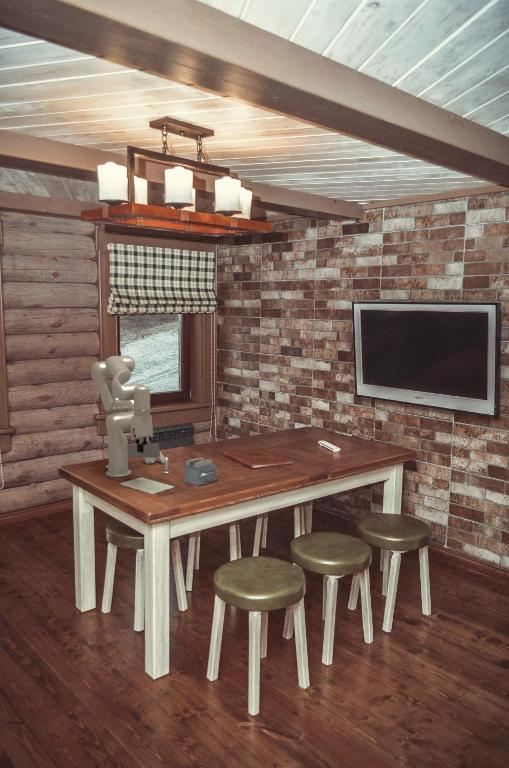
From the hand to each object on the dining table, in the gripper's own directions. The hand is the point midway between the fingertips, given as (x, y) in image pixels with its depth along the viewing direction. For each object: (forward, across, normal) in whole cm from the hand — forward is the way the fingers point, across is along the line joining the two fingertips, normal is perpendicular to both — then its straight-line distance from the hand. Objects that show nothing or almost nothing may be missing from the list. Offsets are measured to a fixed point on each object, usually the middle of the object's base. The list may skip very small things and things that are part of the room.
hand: (142, 451), depth 276 cm
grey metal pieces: (+18, -25, +3) cm, 31 cm away
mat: (+18, -3, -1) cm, 18 cm away
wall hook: (+18, -34, -29) cm, 48 cm away
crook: (+3, -3, +1) cm, 4 cm away
